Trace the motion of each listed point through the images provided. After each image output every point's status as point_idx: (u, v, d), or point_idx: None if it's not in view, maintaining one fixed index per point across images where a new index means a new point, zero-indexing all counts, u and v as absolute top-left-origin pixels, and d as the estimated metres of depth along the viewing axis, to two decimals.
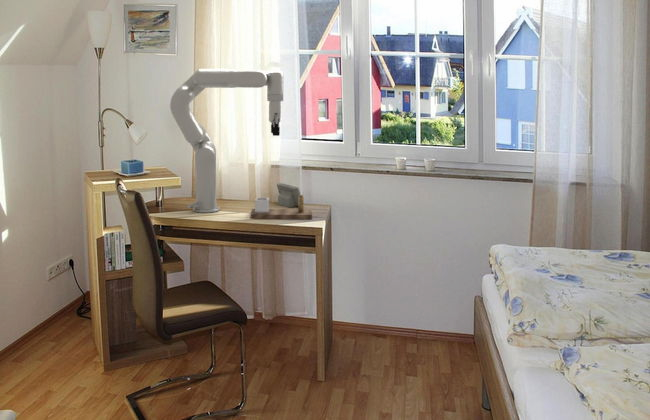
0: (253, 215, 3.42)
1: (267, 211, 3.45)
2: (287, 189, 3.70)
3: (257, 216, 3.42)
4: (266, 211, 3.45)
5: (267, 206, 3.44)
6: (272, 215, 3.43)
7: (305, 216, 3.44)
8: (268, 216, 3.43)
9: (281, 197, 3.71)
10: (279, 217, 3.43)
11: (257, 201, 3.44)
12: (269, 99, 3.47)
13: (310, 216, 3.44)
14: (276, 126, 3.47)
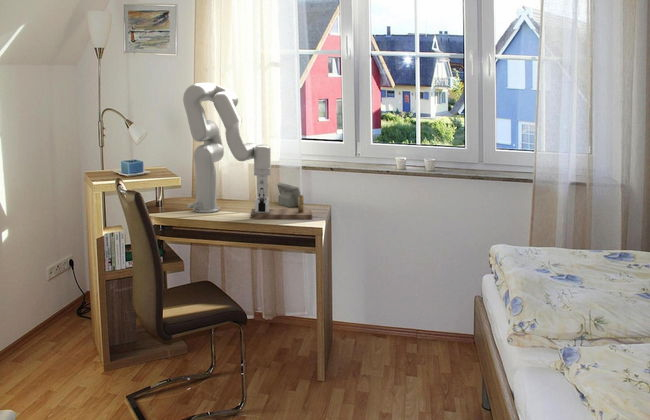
0: (253, 215, 3.42)
1: (267, 211, 3.45)
2: (287, 189, 3.70)
3: (257, 216, 3.42)
4: (266, 211, 3.45)
5: (267, 206, 3.44)
6: (272, 215, 3.43)
7: (305, 216, 3.44)
8: (268, 216, 3.43)
9: (282, 197, 3.71)
10: (279, 217, 3.43)
11: (257, 201, 3.44)
12: None
13: (310, 216, 3.44)
14: None
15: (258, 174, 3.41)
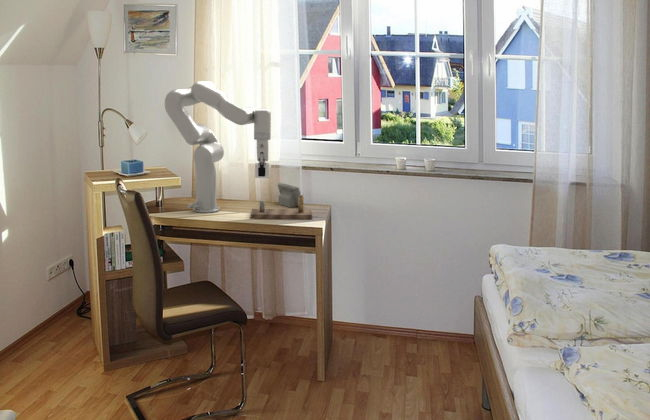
0: (253, 215, 3.42)
1: (267, 176, 3.41)
2: (288, 189, 3.70)
3: (257, 216, 3.42)
4: (266, 176, 3.41)
5: (268, 171, 3.41)
6: (272, 215, 3.43)
7: (305, 216, 3.44)
8: (268, 216, 3.43)
9: (282, 197, 3.71)
10: (279, 217, 3.43)
11: (257, 166, 3.40)
12: None
13: (310, 216, 3.44)
14: None
15: (258, 138, 3.37)
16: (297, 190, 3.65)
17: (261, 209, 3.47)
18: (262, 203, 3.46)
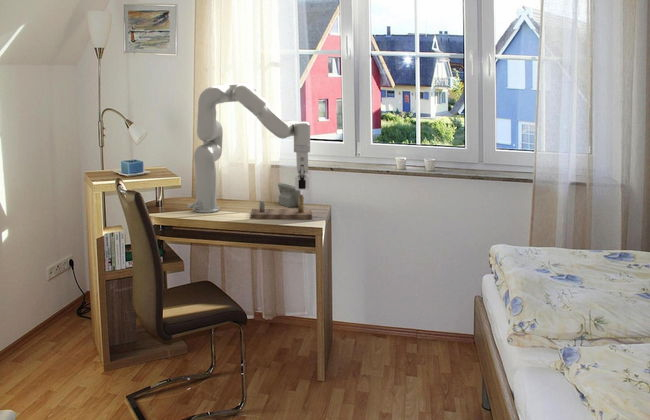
0: (253, 215, 3.42)
1: (307, 188, 3.43)
2: (288, 189, 3.70)
3: (257, 216, 3.42)
4: (306, 188, 3.43)
5: (308, 183, 3.43)
6: (272, 215, 3.43)
7: (305, 216, 3.44)
8: (268, 216, 3.43)
9: (282, 197, 3.71)
10: (279, 217, 3.43)
11: (297, 178, 3.42)
12: None
13: (310, 216, 3.44)
14: None
15: (298, 151, 3.39)
16: (297, 190, 3.65)
17: (261, 209, 3.47)
18: (262, 203, 3.46)
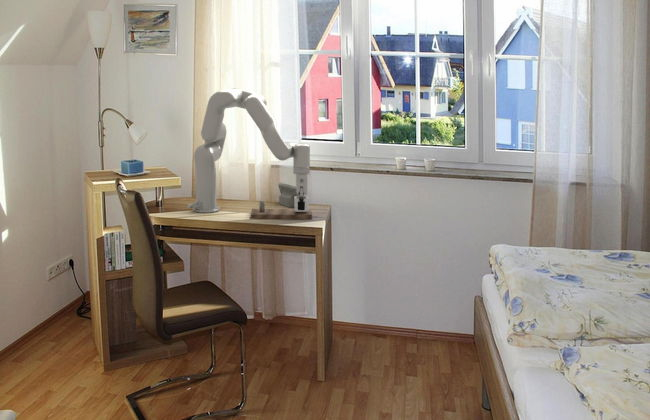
0: (253, 215, 3.42)
1: (307, 209, 3.46)
2: (288, 189, 3.70)
3: (257, 216, 3.42)
4: (306, 209, 3.46)
5: (307, 204, 3.45)
6: (272, 215, 3.43)
7: (305, 216, 3.44)
8: (268, 216, 3.43)
9: (282, 197, 3.71)
10: (279, 217, 3.43)
11: (297, 200, 3.44)
12: None
13: (310, 216, 3.44)
14: None
15: (298, 173, 3.42)
16: None
17: (261, 209, 3.47)
18: (262, 203, 3.46)
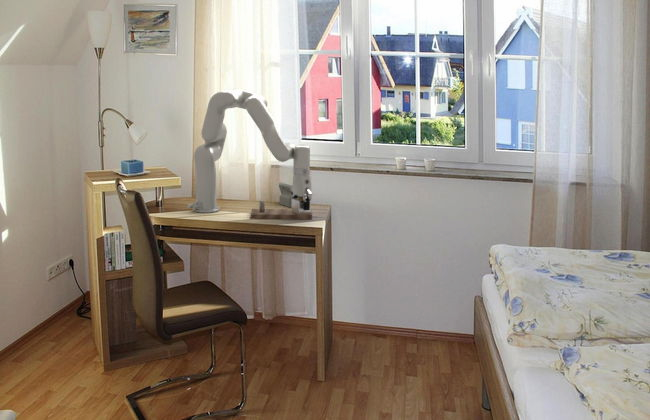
0: (253, 215, 3.42)
1: (309, 211, 3.48)
2: (288, 189, 3.70)
3: (257, 216, 3.42)
4: (308, 211, 3.47)
5: None
6: (272, 215, 3.43)
7: (305, 216, 3.44)
8: (268, 216, 3.43)
9: (283, 197, 3.71)
10: (279, 217, 3.43)
11: (301, 202, 3.44)
12: None
13: (310, 216, 3.44)
14: None
15: (302, 174, 3.42)
16: None
17: (261, 209, 3.47)
18: (262, 203, 3.46)
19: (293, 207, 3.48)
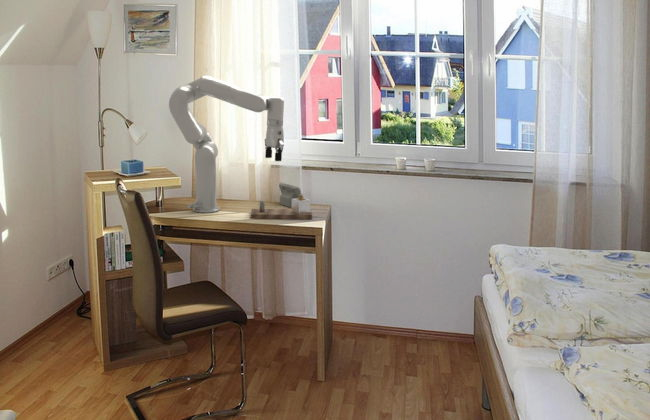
0: (253, 215, 3.42)
1: (309, 211, 3.48)
2: (289, 189, 3.70)
3: (257, 216, 3.42)
4: (308, 211, 3.47)
5: (309, 206, 3.47)
6: (272, 215, 3.43)
7: (305, 216, 3.44)
8: (268, 216, 3.43)
9: (283, 197, 3.71)
10: (279, 217, 3.43)
11: (301, 202, 3.44)
12: None
13: (310, 216, 3.44)
14: None
15: (275, 125, 3.46)
16: (298, 190, 3.65)
17: (261, 209, 3.47)
18: (262, 203, 3.46)
19: (293, 207, 3.48)
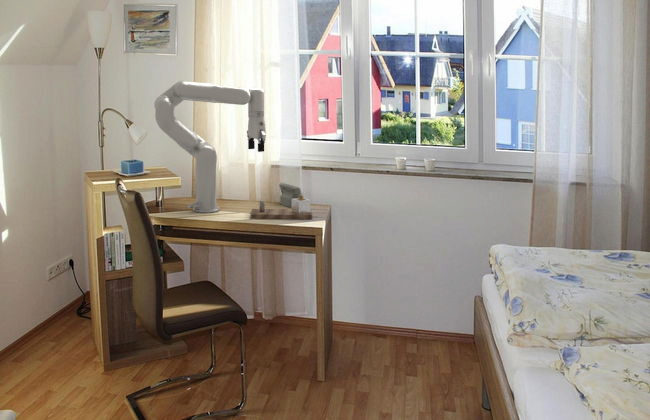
0: (253, 215, 3.42)
1: (309, 211, 3.48)
2: (289, 189, 3.70)
3: (257, 216, 3.42)
4: (308, 211, 3.47)
5: (309, 206, 3.47)
6: (272, 215, 3.43)
7: (305, 216, 3.44)
8: (268, 216, 3.43)
9: (283, 197, 3.71)
10: (279, 217, 3.43)
11: (301, 202, 3.44)
12: None
13: (310, 216, 3.44)
14: None
15: (256, 116, 3.52)
16: (298, 190, 3.65)
17: (261, 209, 3.47)
18: (262, 203, 3.46)
19: (293, 207, 3.48)
